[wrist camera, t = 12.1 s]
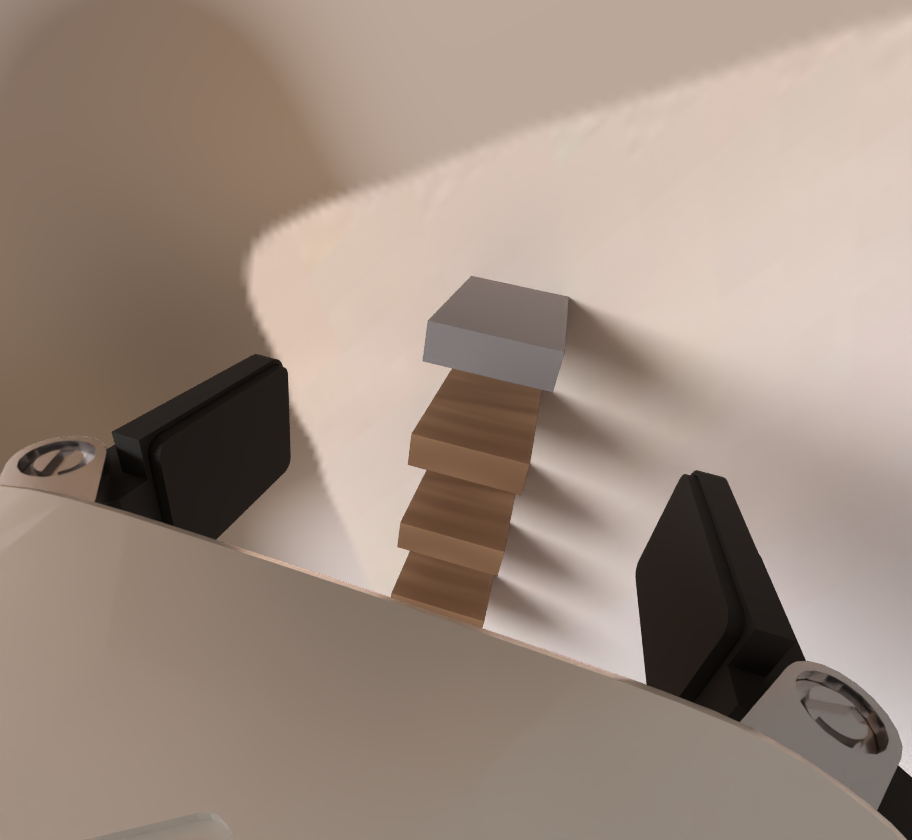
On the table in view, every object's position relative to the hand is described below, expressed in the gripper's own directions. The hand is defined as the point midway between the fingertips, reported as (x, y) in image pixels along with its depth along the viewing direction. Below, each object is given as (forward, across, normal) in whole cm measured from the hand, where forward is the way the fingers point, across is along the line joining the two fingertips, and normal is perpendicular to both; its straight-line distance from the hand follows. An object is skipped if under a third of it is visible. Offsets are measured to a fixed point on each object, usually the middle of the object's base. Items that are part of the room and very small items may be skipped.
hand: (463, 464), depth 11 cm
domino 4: (+15, +1, +15) cm, 21 cm away
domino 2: (+15, +1, +5) cm, 16 cm away
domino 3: (+15, +1, +10) cm, 18 cm away
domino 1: (+15, +1, 0) cm, 15 cm away
